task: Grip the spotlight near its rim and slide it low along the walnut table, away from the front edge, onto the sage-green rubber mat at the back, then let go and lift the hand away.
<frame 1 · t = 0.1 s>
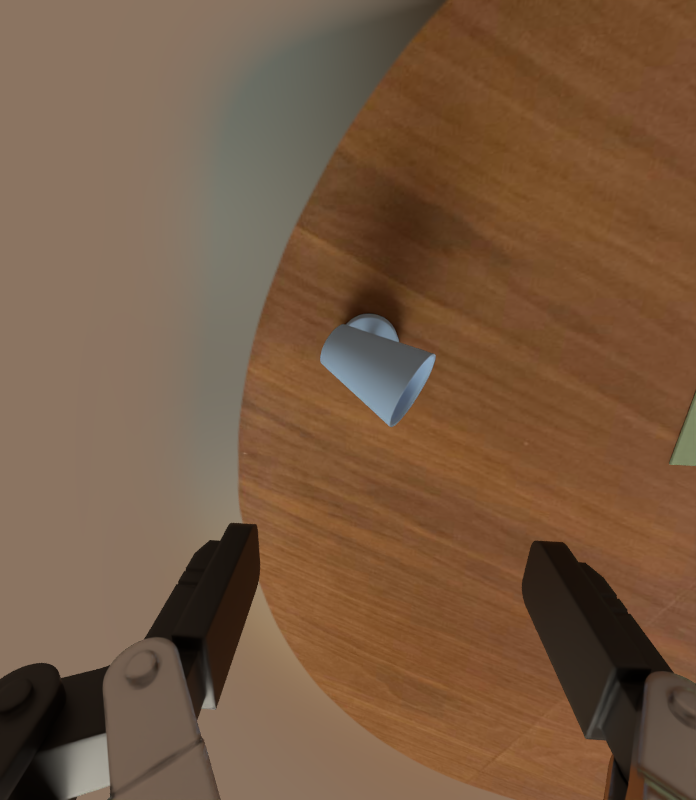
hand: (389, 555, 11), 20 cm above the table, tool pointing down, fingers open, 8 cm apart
spotlight: (373, 345, 29), on the table
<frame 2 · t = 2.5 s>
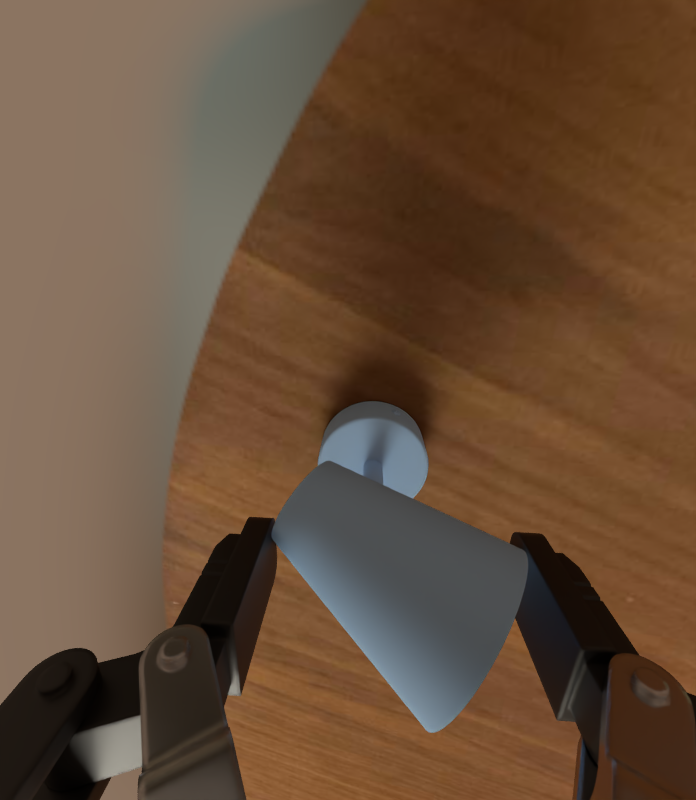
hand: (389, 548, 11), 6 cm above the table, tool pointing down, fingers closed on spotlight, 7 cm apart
spotlight: (381, 449, 17), on the table, touching gripper
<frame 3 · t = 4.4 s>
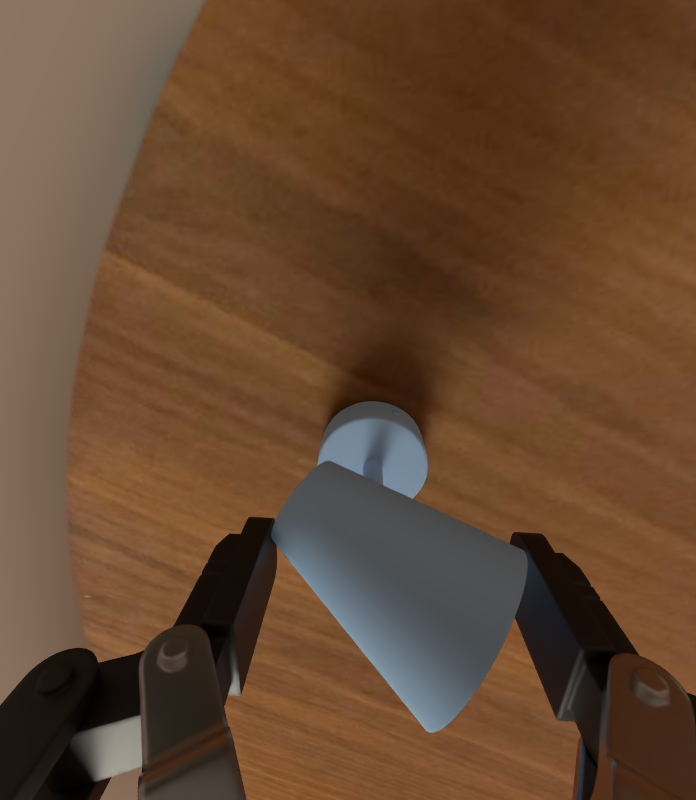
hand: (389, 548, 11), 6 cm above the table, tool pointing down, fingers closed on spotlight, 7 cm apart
spotlight: (380, 449, 17), on the table, touching gripper
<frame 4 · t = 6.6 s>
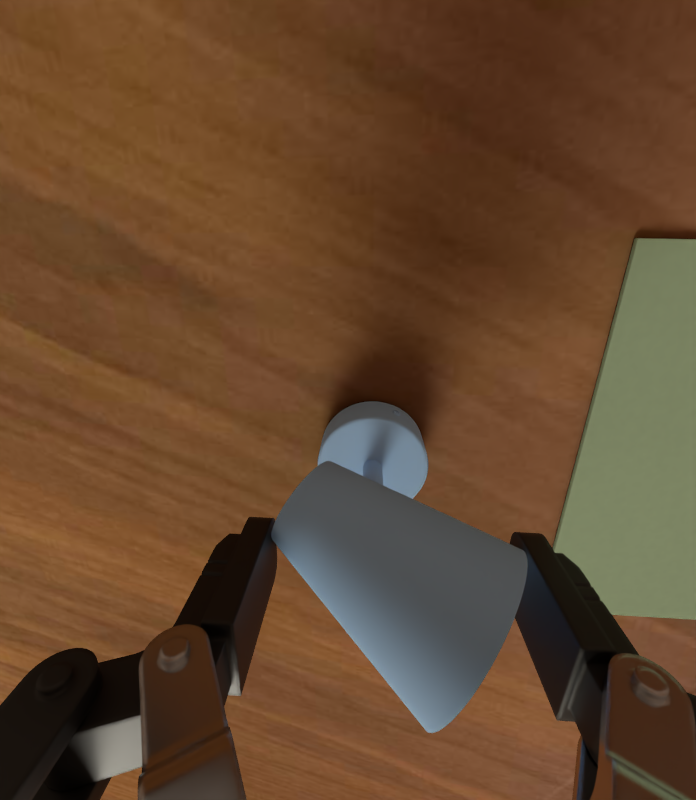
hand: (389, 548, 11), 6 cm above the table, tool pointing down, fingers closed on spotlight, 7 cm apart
spotlight: (380, 450, 17), on the table, touching gripper
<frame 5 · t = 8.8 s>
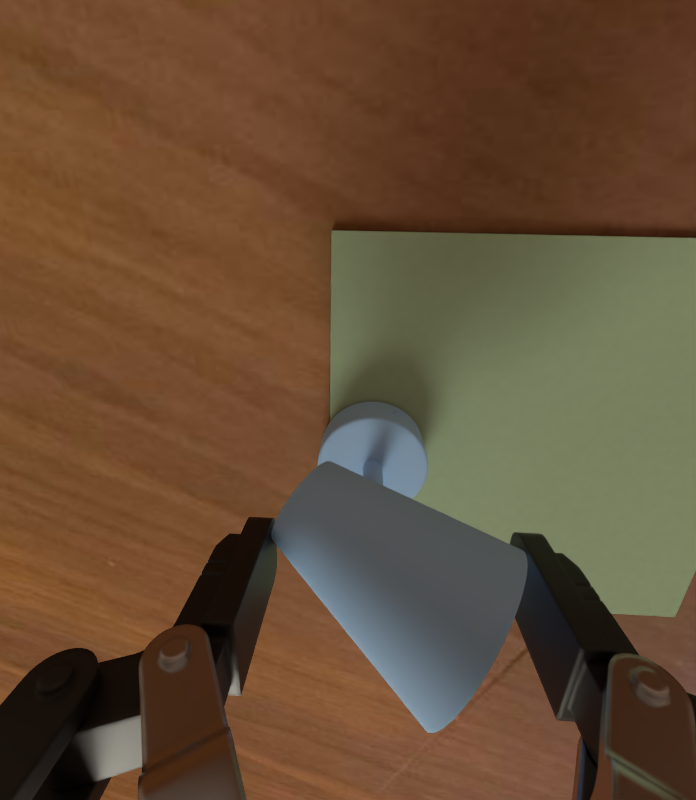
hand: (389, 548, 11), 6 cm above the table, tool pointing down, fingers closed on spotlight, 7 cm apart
mat: (530, 454, 17), on the table
spotlight: (380, 450, 17), on the table, touching gripper
when the fingers open (6 cm above the table, at t = 10.8 s): spotlight stays where it is, resting on mat.
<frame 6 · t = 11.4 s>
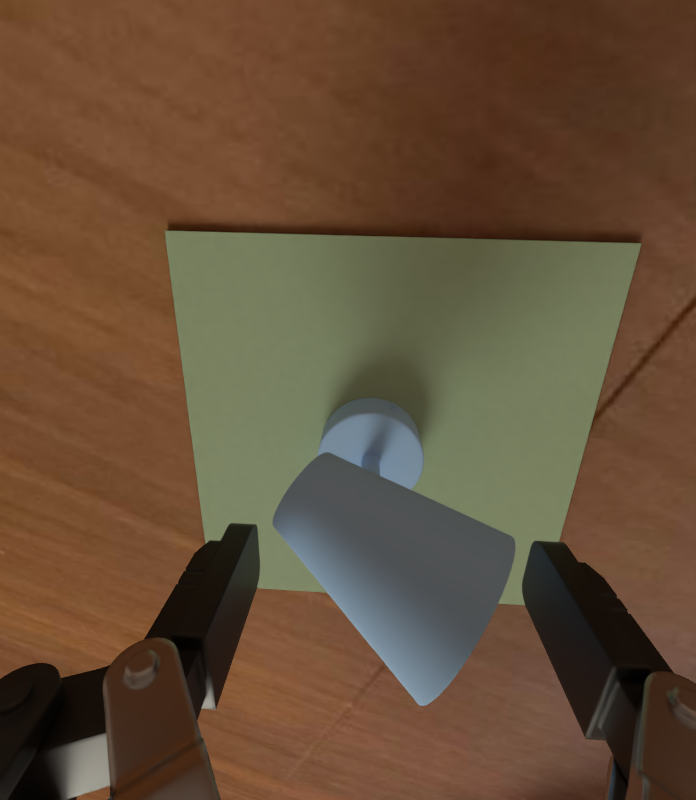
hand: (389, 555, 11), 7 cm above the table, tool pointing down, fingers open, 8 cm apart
mat: (382, 446, 18), on the table
spotlight: (378, 445, 18), resting on mat
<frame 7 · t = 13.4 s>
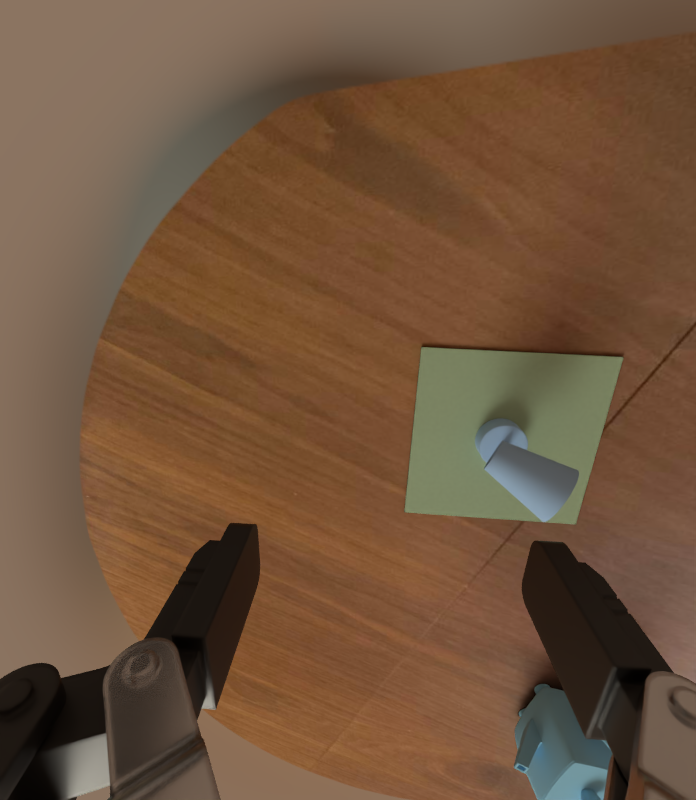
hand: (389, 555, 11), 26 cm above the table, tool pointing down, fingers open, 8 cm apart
mat: (503, 441, 38), on the table
teapot: (546, 702, 49), on the table
spotlight: (501, 440, 38), resting on mat
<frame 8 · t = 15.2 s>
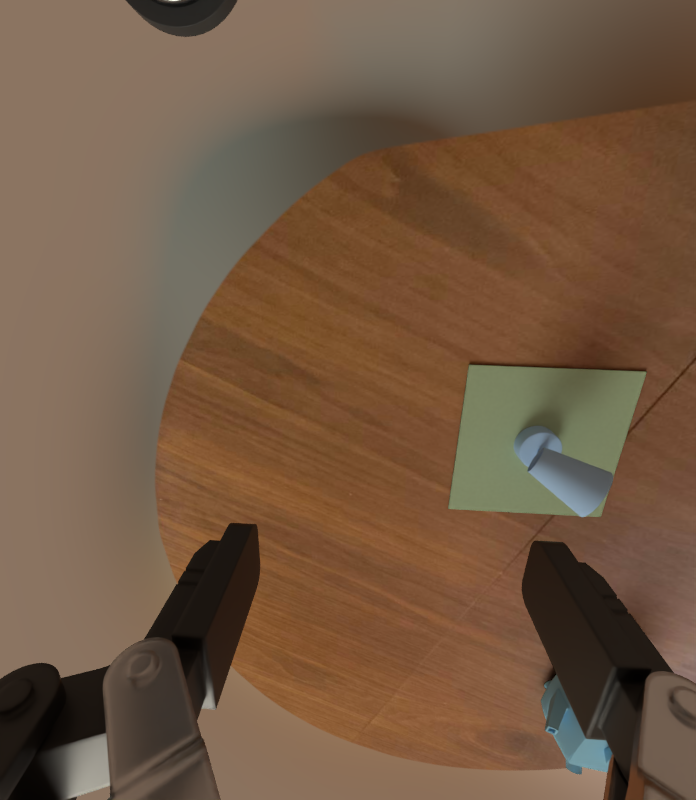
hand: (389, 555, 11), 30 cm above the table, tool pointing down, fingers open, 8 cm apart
mat: (538, 445, 42), on the table
teapot: (569, 674, 55), on the table
spotlight: (537, 444, 42), resting on mat
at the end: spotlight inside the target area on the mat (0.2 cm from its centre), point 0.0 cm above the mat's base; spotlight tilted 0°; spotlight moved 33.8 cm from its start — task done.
